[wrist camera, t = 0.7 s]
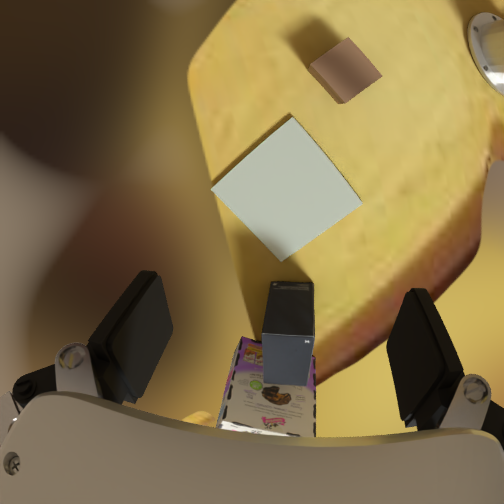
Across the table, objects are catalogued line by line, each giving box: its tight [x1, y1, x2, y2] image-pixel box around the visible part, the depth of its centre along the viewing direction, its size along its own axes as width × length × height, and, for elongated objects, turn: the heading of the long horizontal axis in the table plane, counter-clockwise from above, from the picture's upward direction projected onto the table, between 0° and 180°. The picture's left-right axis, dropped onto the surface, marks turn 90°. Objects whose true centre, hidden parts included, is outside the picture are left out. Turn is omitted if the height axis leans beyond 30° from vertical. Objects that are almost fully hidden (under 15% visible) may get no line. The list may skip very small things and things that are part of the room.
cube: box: [308, 37, 382, 104], centre depth 23 cm, size 5×5×5 cm
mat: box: [211, 117, 363, 262], centre depth 33 cm, size 13×13×1 cm
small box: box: [262, 281, 315, 386], centre depth 37 cm, size 11×6×10 cm, turn 3°
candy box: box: [216, 336, 316, 437], centre depth 40 cm, size 14×6×16 cm, turn 72°
